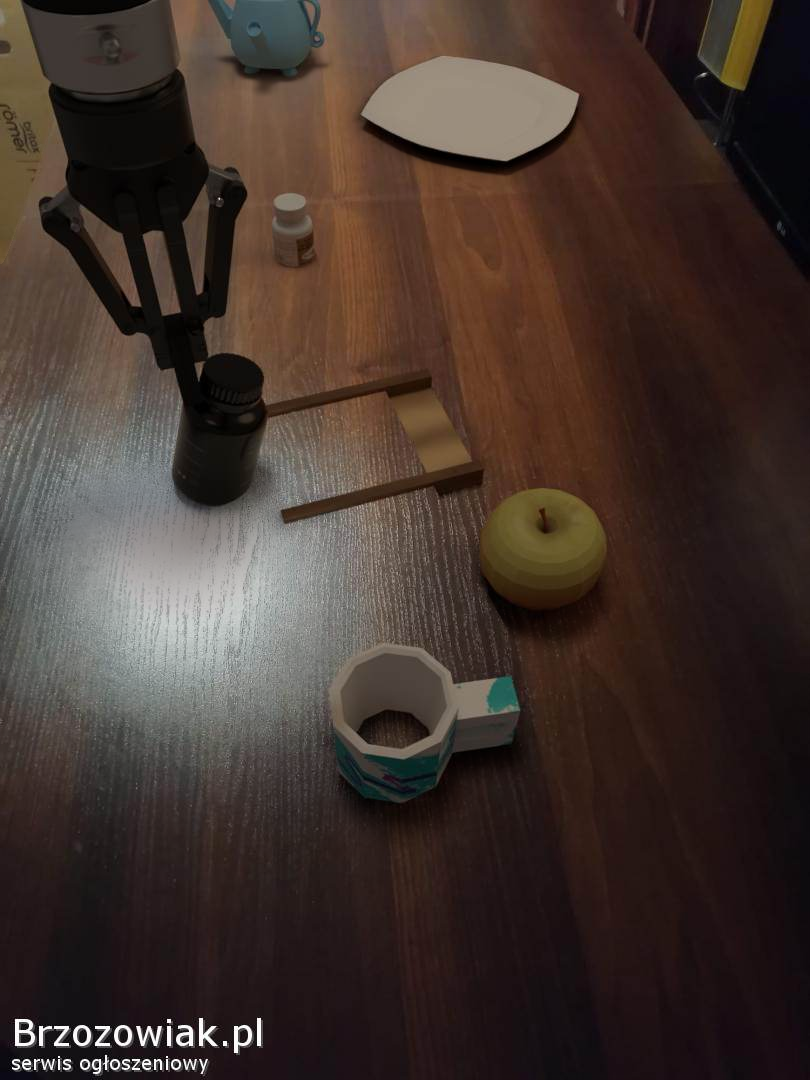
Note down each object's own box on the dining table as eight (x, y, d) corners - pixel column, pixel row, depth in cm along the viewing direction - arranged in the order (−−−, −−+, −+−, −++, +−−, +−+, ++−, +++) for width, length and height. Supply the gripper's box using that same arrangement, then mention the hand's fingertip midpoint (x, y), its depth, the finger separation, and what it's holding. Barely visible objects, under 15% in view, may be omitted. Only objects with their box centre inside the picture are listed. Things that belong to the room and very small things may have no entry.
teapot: (207, 55, 129) (194, -31, 120) (286, 34, 134) (279, -50, 125) (258, 95, 122) (248, 6, 113) (339, 71, 127) (336, -15, 118)
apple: (496, 517, 74) (507, 451, 68) (607, 551, 72) (629, 487, 66) (459, 605, 68) (466, 542, 62) (578, 644, 66) (599, 584, 60)
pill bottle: (310, 279, 95) (305, 214, 89) (271, 274, 95) (264, 210, 89) (319, 256, 98) (315, 192, 91) (281, 252, 98) (274, 188, 92)
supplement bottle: (222, 446, 78) (248, 337, 70) (264, 496, 75) (296, 390, 67) (154, 464, 74) (173, 351, 66) (196, 518, 71) (221, 408, 63)
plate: (513, 189, 107) (515, 174, 106) (334, 130, 116) (334, 116, 114) (600, 105, 122) (603, 90, 120) (435, 58, 130) (436, 44, 128)
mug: (330, 709, 62) (323, 649, 56) (491, 686, 64) (503, 625, 57) (344, 819, 57) (338, 768, 51) (518, 792, 59) (535, 738, 52)
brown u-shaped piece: (247, 423, 81) (244, 409, 79) (427, 382, 85) (427, 368, 83) (285, 533, 72) (283, 520, 71) (482, 482, 76) (484, 468, 75)
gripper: (-4, 121, 44) (111, 446, 63) (244, 86, 47) (284, 407, 66) (-11, 61, 49) (98, 381, 67) (216, 33, 52) (261, 347, 70)
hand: (190, 394), depth 66 cm, fingers closed
